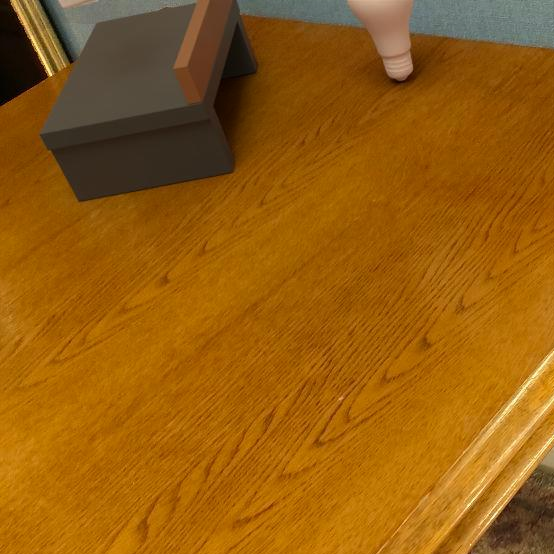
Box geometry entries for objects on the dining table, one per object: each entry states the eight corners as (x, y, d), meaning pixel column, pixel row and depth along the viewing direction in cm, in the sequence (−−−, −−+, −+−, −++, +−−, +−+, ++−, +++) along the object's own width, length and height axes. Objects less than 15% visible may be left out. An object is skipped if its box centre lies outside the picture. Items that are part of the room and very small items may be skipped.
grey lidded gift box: (77, 204, 87) (18, 98, 80) (126, 87, 103) (81, -11, 96) (232, 175, 87) (187, 65, 80) (258, 62, 102) (222, -39, 95)
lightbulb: (394, 101, 91) (360, -28, 83) (358, 84, 95) (322, -41, 87) (446, 74, 93) (418, -55, 85) (409, 58, 97) (378, -67, 89)
